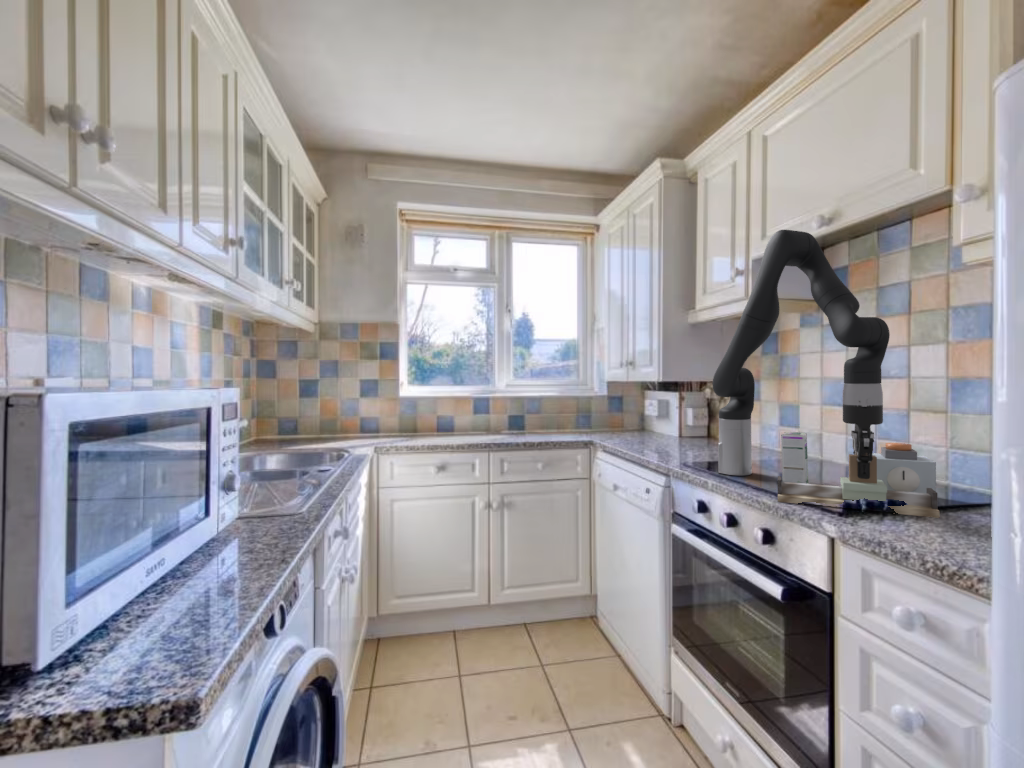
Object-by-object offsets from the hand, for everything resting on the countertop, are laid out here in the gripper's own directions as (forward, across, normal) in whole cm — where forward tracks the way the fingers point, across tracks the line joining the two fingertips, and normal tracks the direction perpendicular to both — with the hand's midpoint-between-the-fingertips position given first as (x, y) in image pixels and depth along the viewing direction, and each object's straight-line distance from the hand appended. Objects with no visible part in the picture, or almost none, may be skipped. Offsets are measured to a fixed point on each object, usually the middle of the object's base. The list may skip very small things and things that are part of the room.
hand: (862, 476), depth 110 cm
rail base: (+7, 0, -2) cm, 7 cm away
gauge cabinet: (+7, -13, +9) cm, 17 cm away
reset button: (-4, -13, +9) cm, 16 cm away
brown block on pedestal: (+5, 0, 0) cm, 5 cm away
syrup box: (+7, -18, -13) cm, 24 cm away
